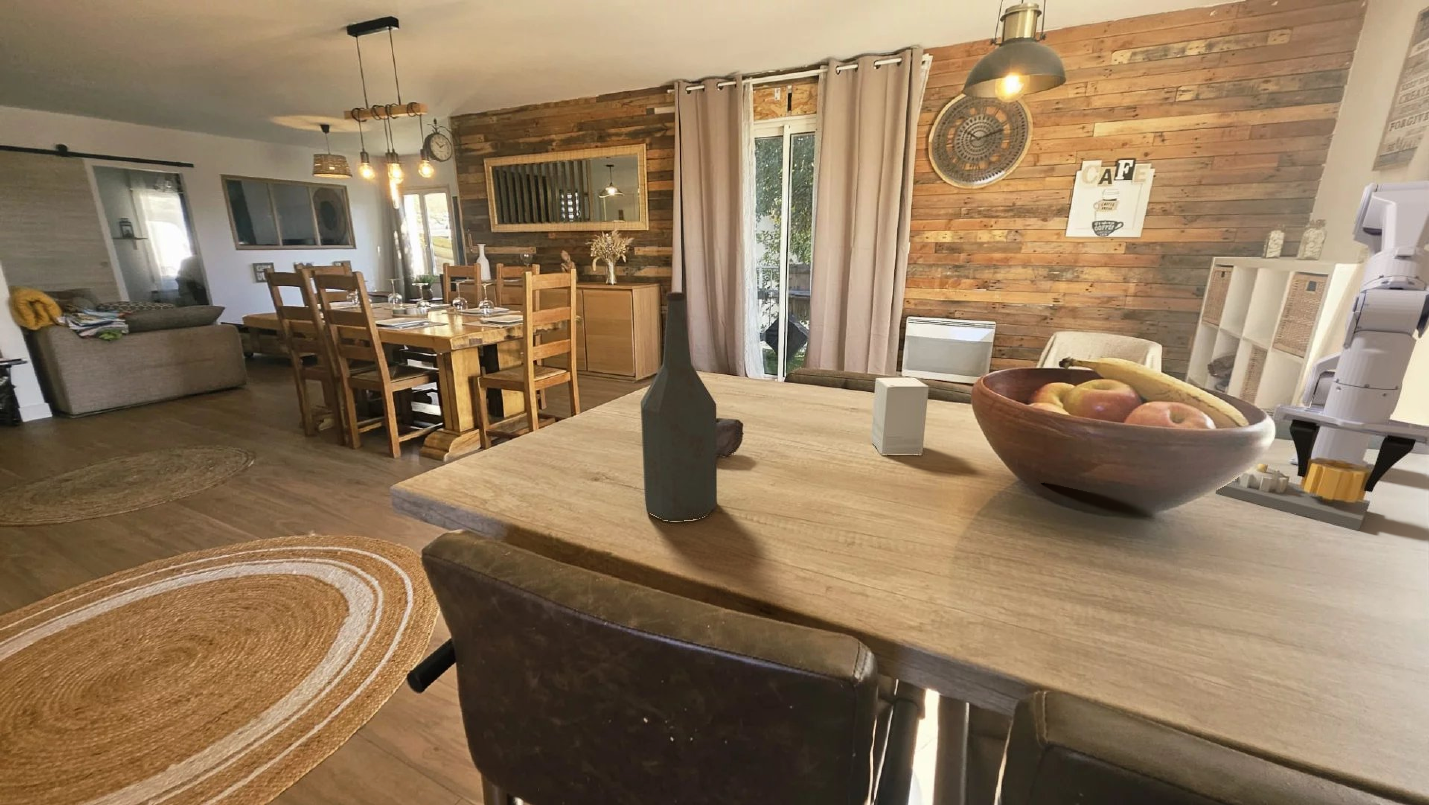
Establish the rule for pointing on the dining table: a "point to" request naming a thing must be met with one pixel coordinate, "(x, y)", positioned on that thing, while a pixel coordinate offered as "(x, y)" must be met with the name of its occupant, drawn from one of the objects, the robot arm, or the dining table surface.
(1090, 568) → the dining table surface
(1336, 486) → the amber gear
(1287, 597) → the dining table surface
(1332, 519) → the gear board
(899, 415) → the supplement box
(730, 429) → the dark brown rounded piece
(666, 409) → the bottle
